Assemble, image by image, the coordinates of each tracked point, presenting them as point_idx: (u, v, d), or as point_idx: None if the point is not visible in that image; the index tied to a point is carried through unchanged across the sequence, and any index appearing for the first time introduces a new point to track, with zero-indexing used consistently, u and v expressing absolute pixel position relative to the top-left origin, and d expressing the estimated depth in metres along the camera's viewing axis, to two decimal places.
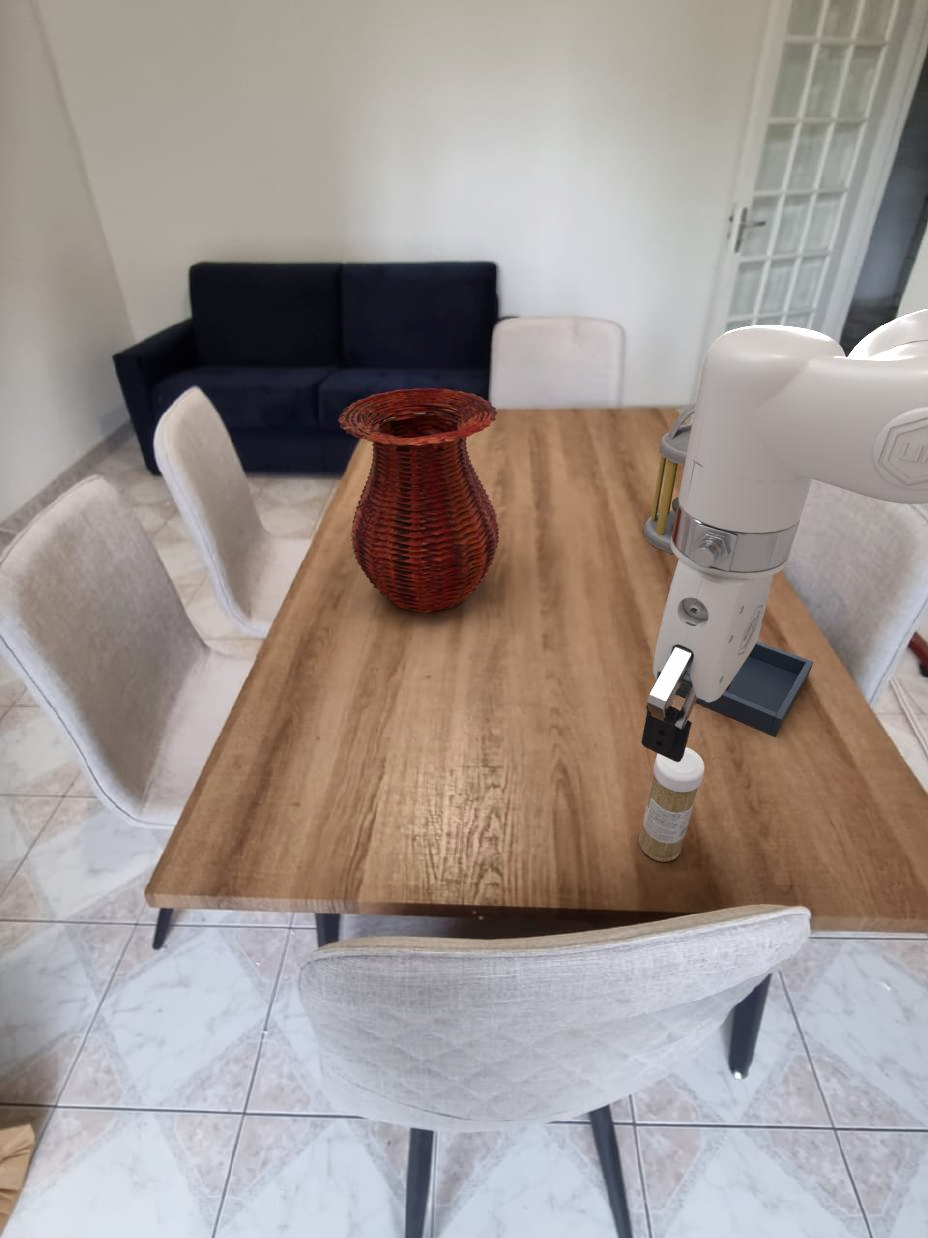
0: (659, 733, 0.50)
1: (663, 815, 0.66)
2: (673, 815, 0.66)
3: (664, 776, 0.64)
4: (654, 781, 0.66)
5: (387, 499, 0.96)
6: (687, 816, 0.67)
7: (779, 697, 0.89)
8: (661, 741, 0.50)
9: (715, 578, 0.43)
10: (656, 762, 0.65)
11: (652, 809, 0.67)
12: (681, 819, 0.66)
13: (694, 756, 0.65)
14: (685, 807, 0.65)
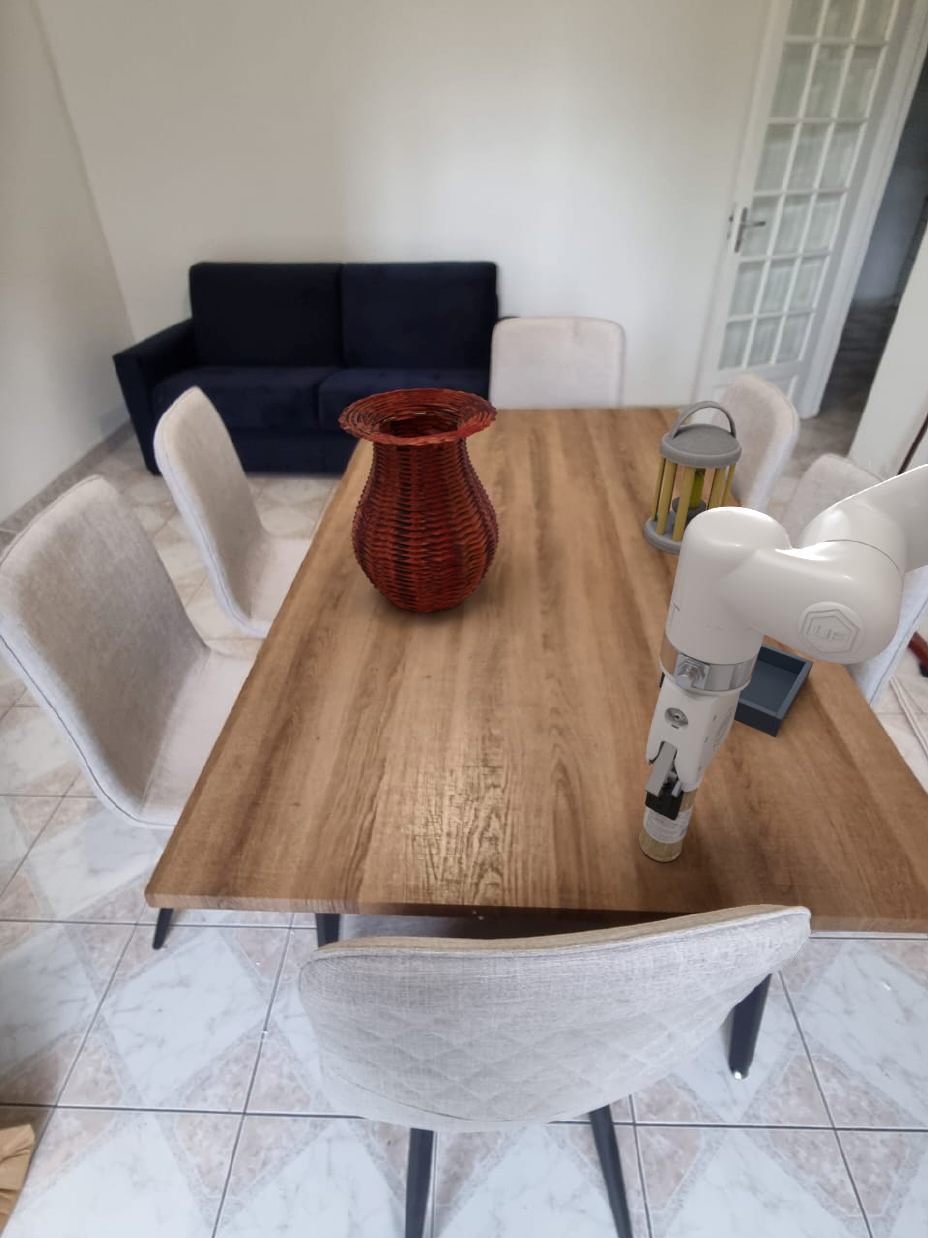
0: (659, 798, 0.63)
1: None
2: None
3: None
4: None
5: (387, 499, 0.96)
6: (687, 816, 0.67)
7: (779, 697, 0.89)
8: (660, 805, 0.64)
9: (693, 694, 0.54)
10: None
11: None
12: (681, 819, 0.66)
13: None
14: (685, 807, 0.65)
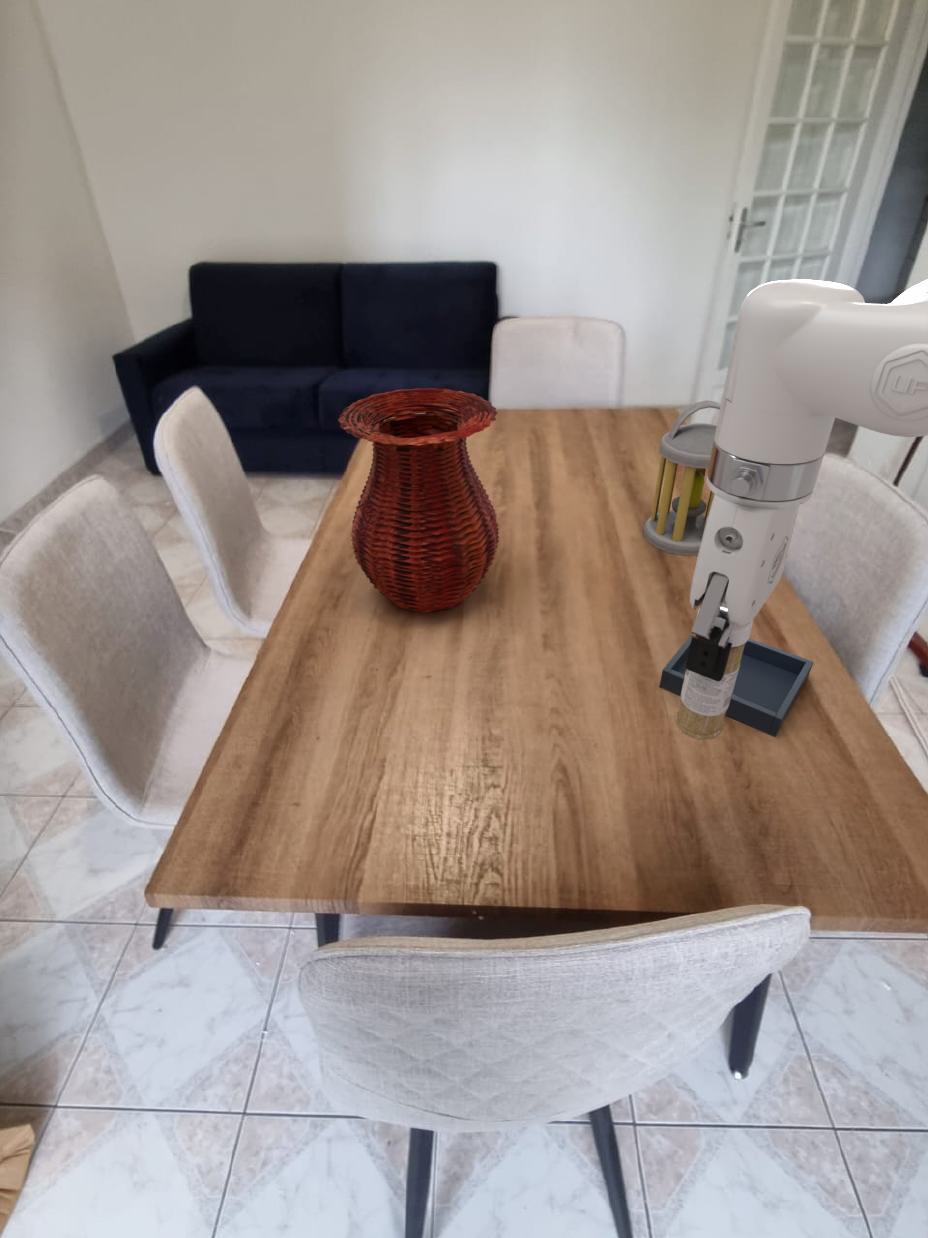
0: (703, 654, 0.57)
1: (706, 680, 0.60)
2: None
3: None
4: None
5: (387, 499, 0.96)
6: (732, 681, 0.60)
7: (779, 697, 0.89)
8: (705, 662, 0.57)
9: (749, 508, 0.48)
10: None
11: (693, 675, 0.61)
12: (726, 684, 0.60)
13: None
14: (730, 668, 0.59)
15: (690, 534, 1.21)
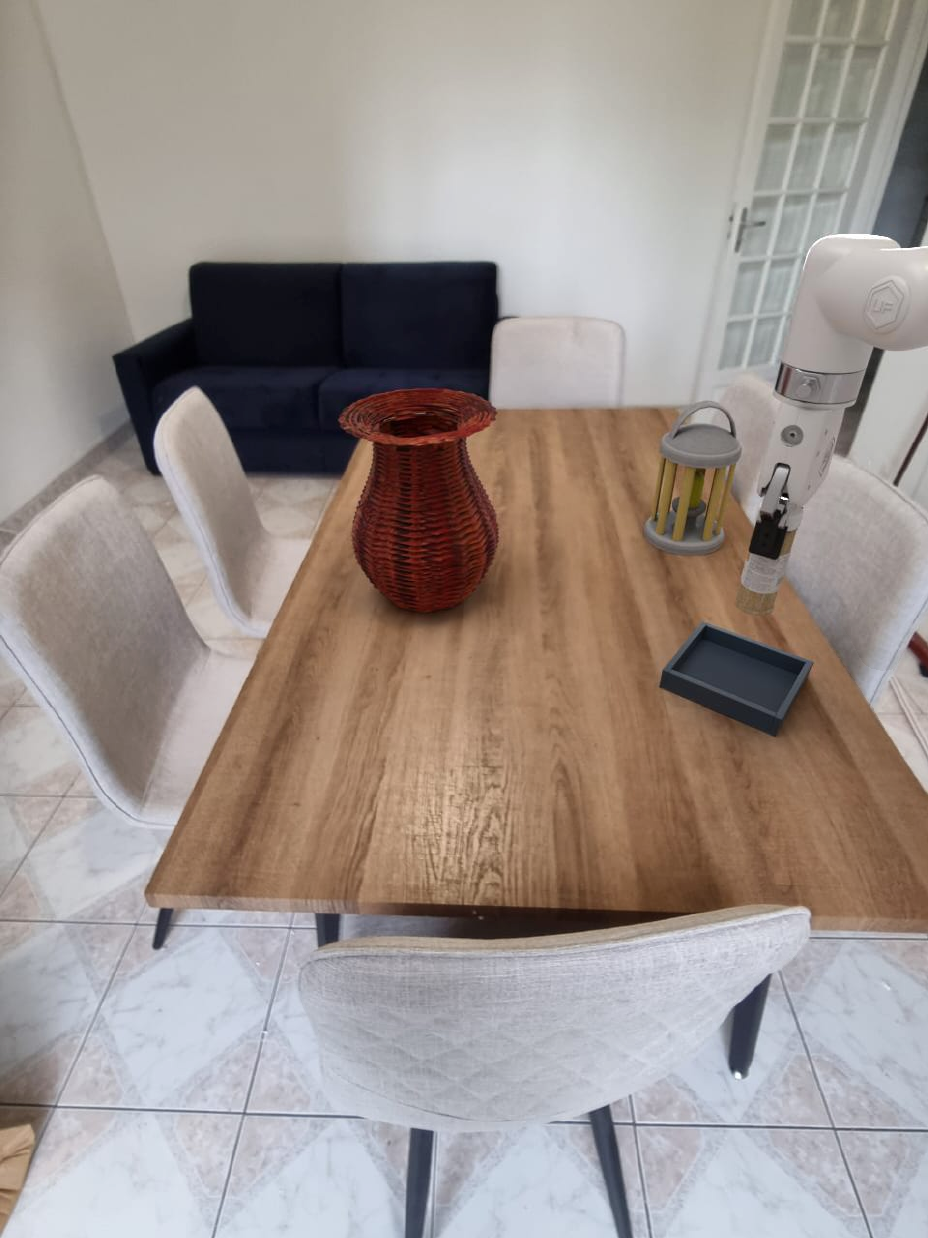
0: (765, 536, 0.72)
1: (764, 561, 0.75)
2: None
3: None
4: None
5: (387, 499, 0.96)
6: (785, 562, 0.76)
7: (779, 697, 0.89)
8: (765, 542, 0.73)
9: (809, 409, 0.63)
10: (759, 509, 0.74)
11: (753, 559, 0.76)
12: (780, 564, 0.75)
13: None
14: (784, 551, 0.74)
15: (690, 534, 1.21)
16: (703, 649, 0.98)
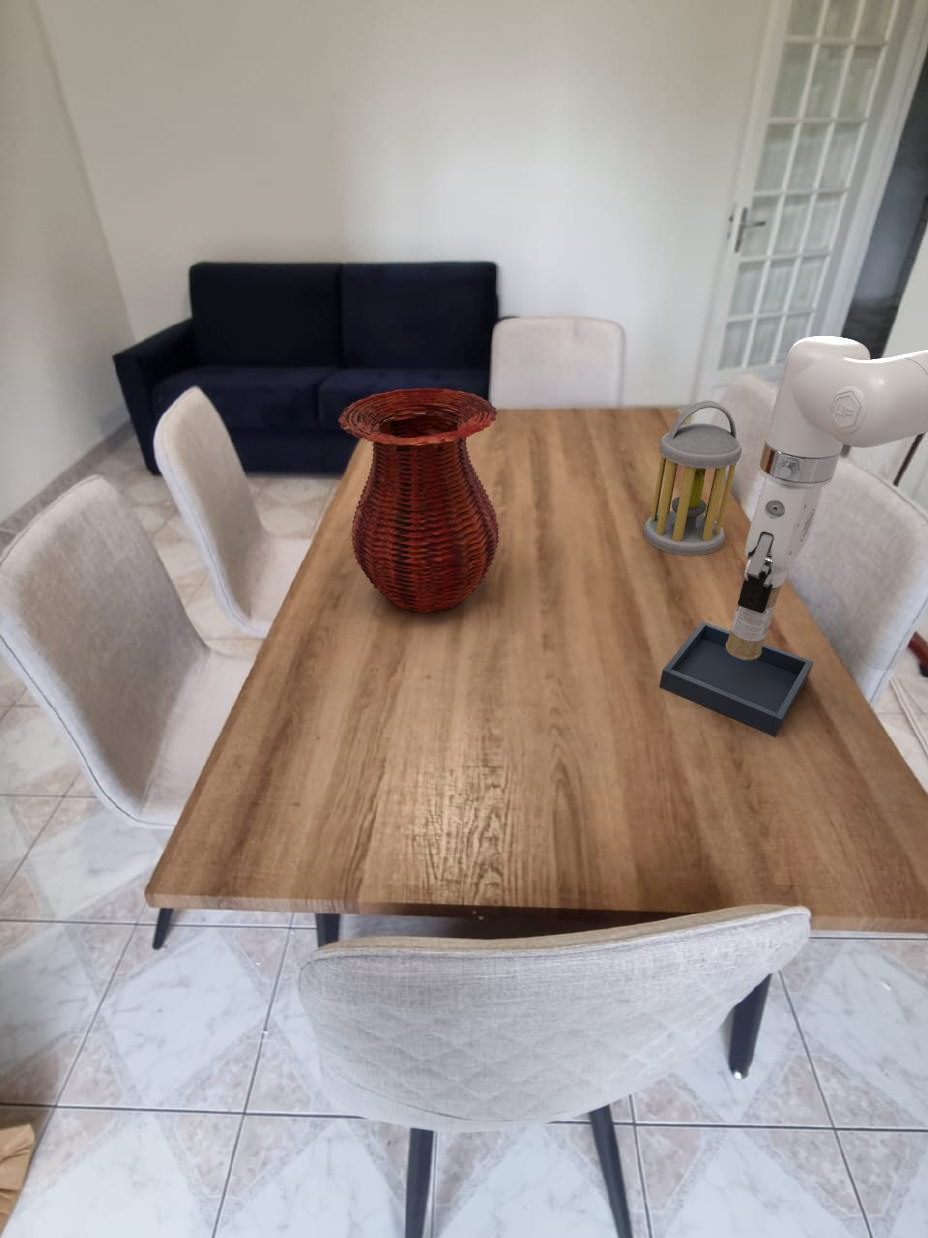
0: (752, 592, 0.80)
1: (752, 613, 0.83)
2: None
3: None
4: None
5: (387, 499, 0.96)
6: (770, 614, 0.83)
7: (779, 697, 0.89)
8: (752, 598, 0.81)
9: (789, 487, 0.71)
10: (747, 567, 0.82)
11: (742, 610, 0.84)
12: (766, 616, 0.83)
13: None
14: (770, 604, 0.82)
15: (690, 534, 1.21)
16: (703, 649, 0.98)
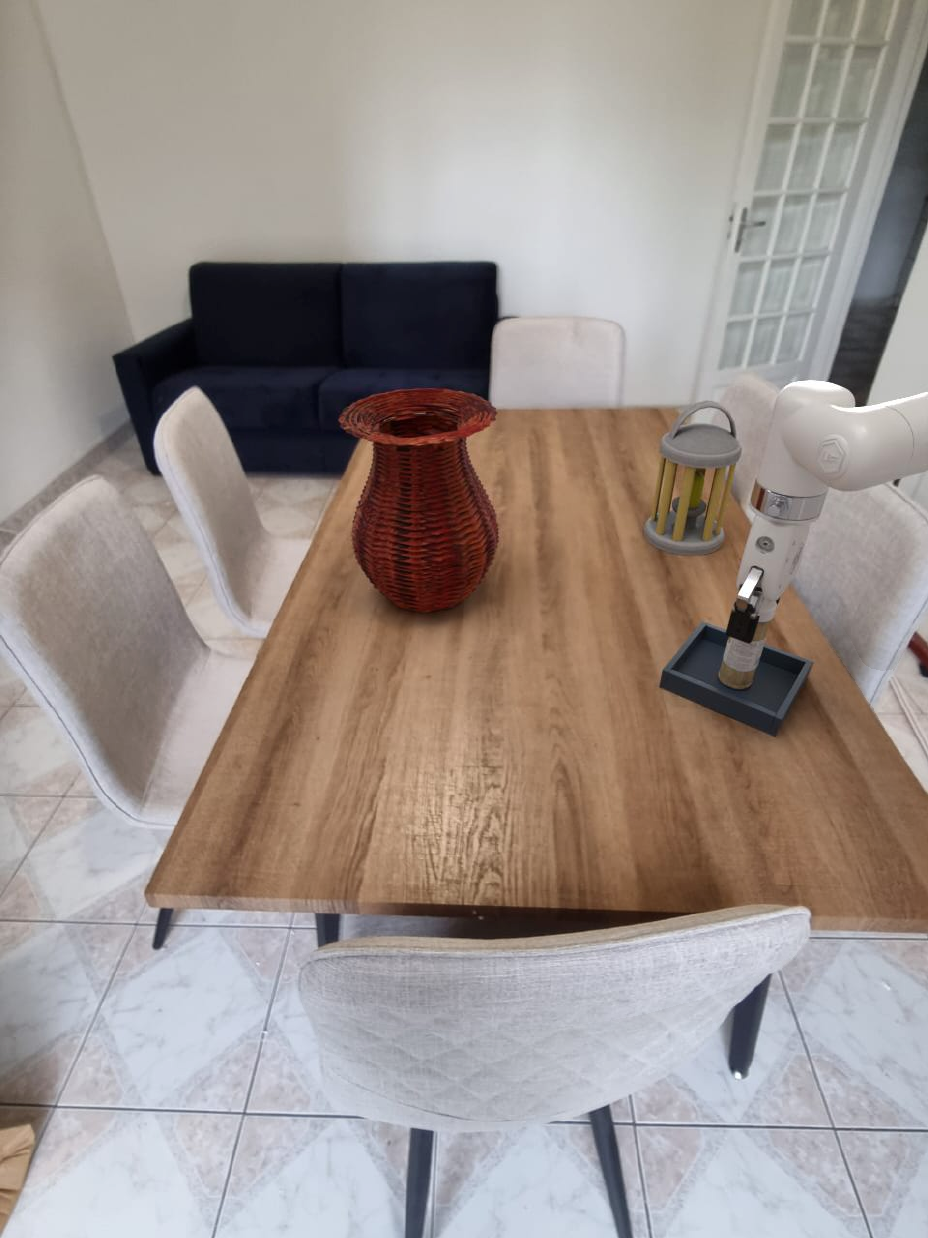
0: (739, 623, 0.81)
1: (743, 645, 0.86)
2: (751, 644, 0.86)
3: None
4: None
5: (387, 499, 0.96)
6: (761, 646, 0.86)
7: (779, 697, 0.89)
8: (740, 629, 0.81)
9: (779, 524, 0.74)
10: None
11: (733, 642, 0.87)
12: (757, 648, 0.86)
13: None
14: (760, 637, 0.85)
15: (690, 534, 1.21)
16: (703, 649, 0.98)
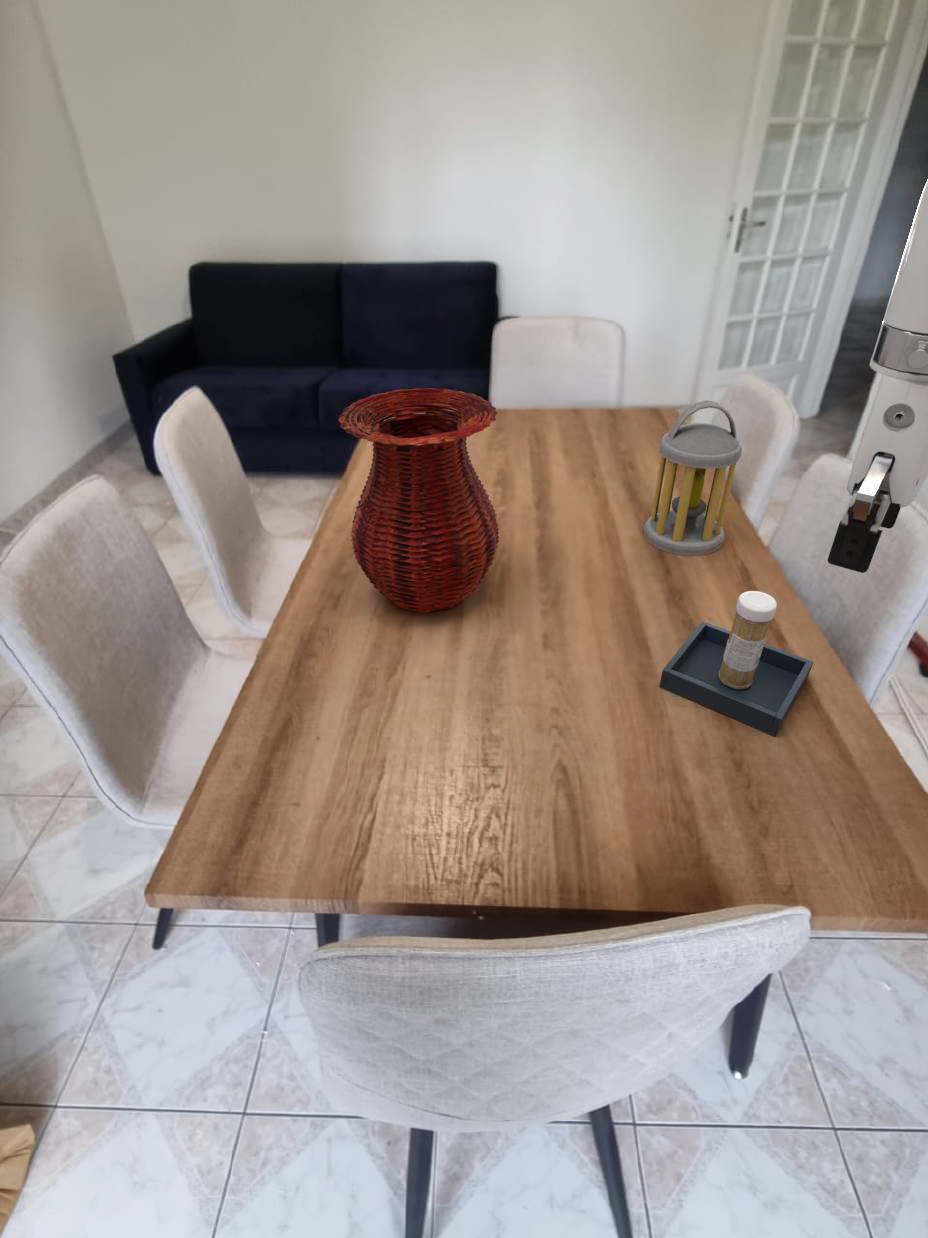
0: (851, 542, 0.57)
1: (743, 645, 0.86)
2: (751, 644, 0.86)
3: (746, 610, 0.83)
4: (736, 618, 0.86)
5: (387, 499, 0.96)
6: (761, 646, 0.86)
7: (779, 697, 0.89)
8: (852, 551, 0.57)
9: (922, 383, 0.50)
10: (739, 601, 0.85)
11: (733, 642, 0.87)
12: (757, 648, 0.86)
13: (768, 596, 0.85)
14: (760, 637, 0.85)
15: (690, 534, 1.21)
16: (703, 649, 0.98)
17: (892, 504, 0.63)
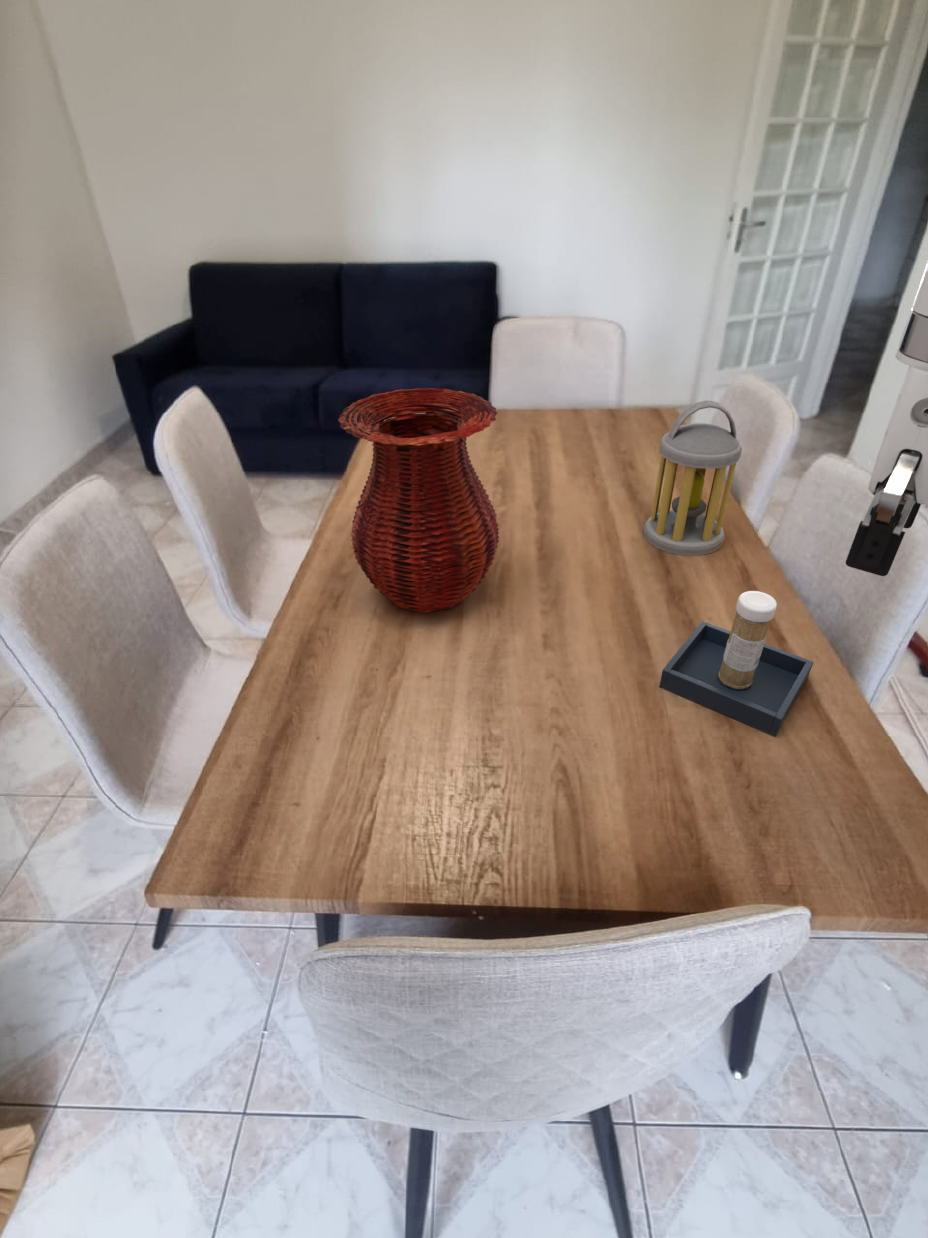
0: (872, 544, 0.54)
1: (743, 645, 0.86)
2: (751, 644, 0.86)
3: (746, 610, 0.83)
4: (736, 618, 0.86)
5: (387, 499, 0.96)
6: (761, 646, 0.86)
7: (779, 697, 0.89)
8: (872, 553, 0.54)
9: None
10: (739, 601, 0.85)
11: (733, 642, 0.87)
12: (757, 648, 0.86)
13: (768, 596, 0.85)
14: (760, 637, 0.85)
15: (690, 534, 1.21)
16: (703, 649, 0.98)
17: None
